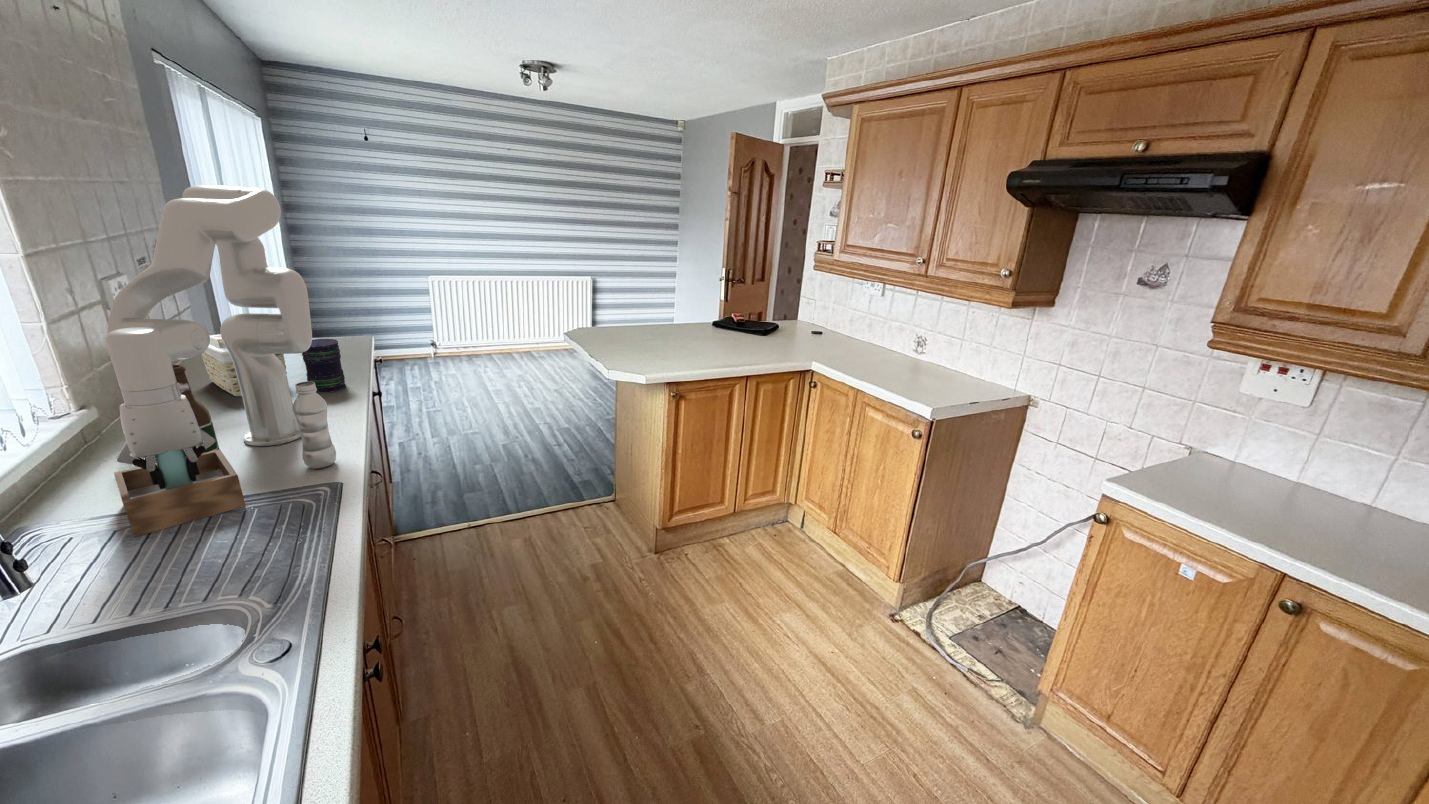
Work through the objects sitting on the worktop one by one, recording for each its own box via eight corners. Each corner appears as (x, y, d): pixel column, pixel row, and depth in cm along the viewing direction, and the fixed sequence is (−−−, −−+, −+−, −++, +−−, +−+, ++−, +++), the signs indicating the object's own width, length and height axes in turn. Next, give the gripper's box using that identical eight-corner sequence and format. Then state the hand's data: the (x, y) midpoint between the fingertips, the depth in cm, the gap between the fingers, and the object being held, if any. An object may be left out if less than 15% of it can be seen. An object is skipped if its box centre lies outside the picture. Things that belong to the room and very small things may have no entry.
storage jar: (312, 384, 181) (303, 339, 176) (348, 382, 185) (340, 337, 180) (306, 394, 173) (296, 347, 168) (343, 391, 177) (335, 345, 172)
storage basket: (294, 387, 178) (285, 342, 173) (230, 400, 165) (218, 351, 160) (265, 371, 191) (255, 329, 186) (203, 382, 178) (191, 336, 173)
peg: (192, 485, 114) (179, 440, 110) (195, 492, 111) (182, 446, 108) (165, 492, 111) (151, 445, 108) (168, 499, 108) (154, 452, 105)
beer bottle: (186, 480, 121) (154, 374, 113) (172, 470, 125) (141, 366, 117) (230, 467, 127) (203, 366, 119) (216, 458, 131) (189, 359, 123)
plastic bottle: (302, 474, 127) (284, 390, 120) (306, 461, 132) (289, 380, 125) (336, 469, 129) (320, 387, 123) (339, 457, 135) (324, 378, 128)
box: (227, 478, 123) (220, 449, 121) (245, 505, 113) (237, 474, 111) (124, 504, 111) (113, 472, 109) (134, 537, 102) (122, 503, 99)
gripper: (206, 381, 113) (228, 464, 119) (84, 399, 101) (115, 490, 107) (214, 390, 108) (236, 476, 114) (87, 410, 96) (119, 504, 102)
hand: (177, 481), depth 110 cm, fingers closed on peg, 4 cm apart
